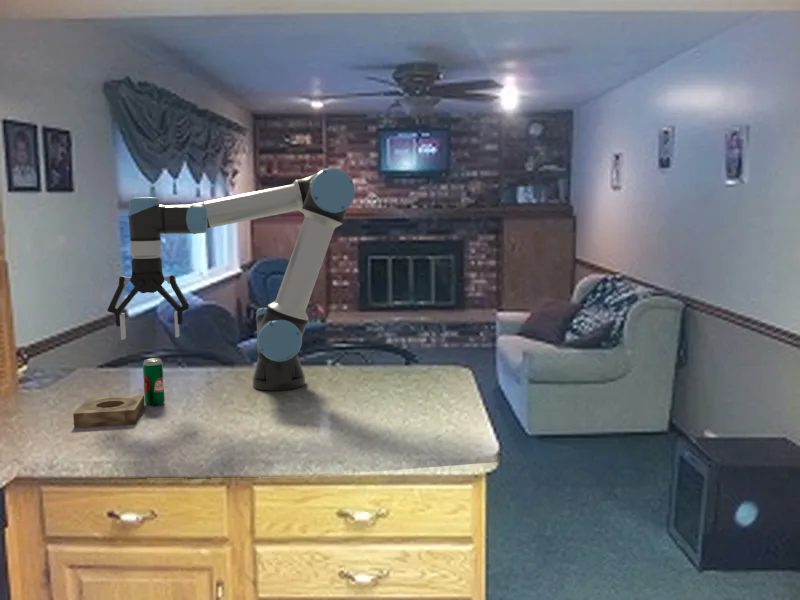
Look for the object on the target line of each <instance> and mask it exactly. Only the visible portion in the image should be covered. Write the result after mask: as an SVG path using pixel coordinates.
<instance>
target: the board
mask: <svg viewBox="0 0 800 600" xmlns="http://www.w3.org/2000/svg"><path fill="white" fill-rule="evenodd" d="M145 406H146V404H145V396H144V395H129V396H127V395H126V396H112V397H111V396H109V397H93V398H92V397H91V398H90V397H89V398H86V399H85V400H84V401H83V402H82V403H81V404H80V406H78V408H77V409H76V410H75V411H74V412H73V413H72V415H73V416H72V417H73V428H74V429H76V428H77V429H78V428H93V427H109V426H125V425H126V426H127V425H128V426H129V425H136V424H137V423H138V421H139V420H140V418H141V416H142V413H143V412H144V411H145Z"/></svg>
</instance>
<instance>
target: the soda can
mask: <svg viewBox="0 0 800 600" xmlns="http://www.w3.org/2000/svg"><path fill="white" fill-rule="evenodd" d="M163 365H164V363H163V361H162V359H161V358H154V357H153V358H146V359H144V360H143V364H142V376H143V377H142V379H143V392H144V393H143V394H144V404H145V406H149V407H155V406H156V407H158V406H161V405H163V404H164V403H165V401H166V399H165V381H164V378H165V377H164V366H163Z"/></svg>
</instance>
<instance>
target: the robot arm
mask: <svg viewBox="0 0 800 600" xmlns="http://www.w3.org/2000/svg"><path fill="white" fill-rule="evenodd" d="M355 195H356V188H355V184H354V181H353V179H352V177H351V176H350V175H349V174H348V173H347V172H345V171H344V170H342V169H340V168H337V167H324V168H322V169H321V170H319V171H318V172H316V173H314V174H312V175H310V176H307V177H304V178H299V179H295V180H294V181H293V183H291V184H287V185H282V186H276V187H271V188H265V189H261V190H257V191H256V190H255V191H250V192H245V193H241V194H236V195H235V194H234V195H231V196H226V197H221V198H216V199H210V200H205V201H201V202H200V201H199V202H194V203H189V204H169V205H168V204H160V201H159V200H160V199H159V198H158V197H153V196H152V197H131V198H130V199H129V200H128V227H129V238H130V239H129V240H130V242H129V243H130V255H131V257H133V258H131V261H130V262H131V276H126V275H122V276H120V277H119V279H118V286H117V288H116V290H115V292H114V294H113V297H112V299H111V301H110V302H109V305H108V308H107V312H108V313H111V314H114V315H115V325H116V327H119V328H120V340H125V339H126V338H127V330H126V313H125V312H123V311H124V310H125V308H126V307H127V306H128V305H129V304H130V302H131V301H132V300H133V298H135V296H136V295H137V294H138V293H141V294H146V293H149V294H154V293H157V292H158V294H160V295H161V296H162V297H163V299H165V301H167V303H169V305H171V307H172V308H173V309H174V310H175V311H174V313H173V314H174V315H173V317H174V318H173V319H174V320H173V321H174V332H175V333H174V336H175V338H179V337H180V325H182V324H183V322H184V315H183V313H184V311H187V310H189V308H190V304H189V302H188V301H187V299H186V297H185V295H184V293H183V292H182V290H181V288H180V287H179V285H178V284H177V280H176V275H175V274H171V275H166V276H165V275H164V274H163V259H162V258H161V257H160V256H162V243H161V242H162V240H161V235H163V234H164V235H167V234H176V235H177V234H178V235H179V234H180V235H184V234H185V235H186V234H190V235H191V234H192V235H195V234H205V233H207V231H208V229H212V228H216V227H221V226H226V225H232V224H236V223H241V222H247V221H252V220H257V219H261V218H266V217H272V216H277V215H283V214H286V213H292V212H297V211H299V212H300V213H302V214H303V216H304V219H303V221H302V224H301V227H300V230H299V233H298V236H297V238H296V241H295V244H294V247H293V250H292V253H291V256H290V259H289V261H288V264H287V267H286V269H285V272H284V274H283V275H284V276H283V278H282V281H281V284H280V286H279V290H278V292H277V296H276V298H275V300H274V301H272V302H271V303H268V304H267V306H266V307H260V308H257V310H256V315H255V321H256V345H257V361H256V366H255V370H254V373H253V376H252V387H253V388H254V389H257V390H260V391H261V390H262V391H270V392H271V391H287V390H292V389H298V388H301V387H303V386H304V385H306V378H305V377H306V376H305V373H304V370H303V367H302V365H301V362H300V359H299V351H300V350H301V348H302V345H303V335H304V333H305V329H306V327H307V325H308V321H309V316H308V314H307V311H306V310H307V308H308V305H309V303H310V298H311V296H312V294H313V290H314V287H315V285H316V282H317V279H318V277H319V273H320V271H321V268H322V265H323V262H324V260H325V257H326V255H327V251H328V249H329V247H330V242H331V240H332V236H333V234H334V232H335V230H336V228H338V227H340V226H342V225H343V222H344V220H345V217H346V215H347V212H348V209H349V207H350V206H351V205H352V203H353V202H354V200H355ZM165 281H166V282H167V284H168V285H170V287H171V289H172V290H173V292H174V294H175V295H176V297H177V299H178V300H179V302H180V304H181V305H180V304H179V303H178V302H177V300H175V299H174V298H173V296H171V294H170V293H169V292H168V291H167V290H166V289H165V287H163V286H162V285H163V283H164V282H165ZM129 282H130V283H131V284H132V285H133V289H132V290H131V291H130V292H129V294H128V295H127V296H126V297H125V298H124V300H123V301H122V303H121V304H120V305H119V306H118V307H116V306H117V304H118V302H119V300H120V298H121V295H122V294H123V291H124V289H125V287H126V286H127V285H128V284H129Z"/></svg>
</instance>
